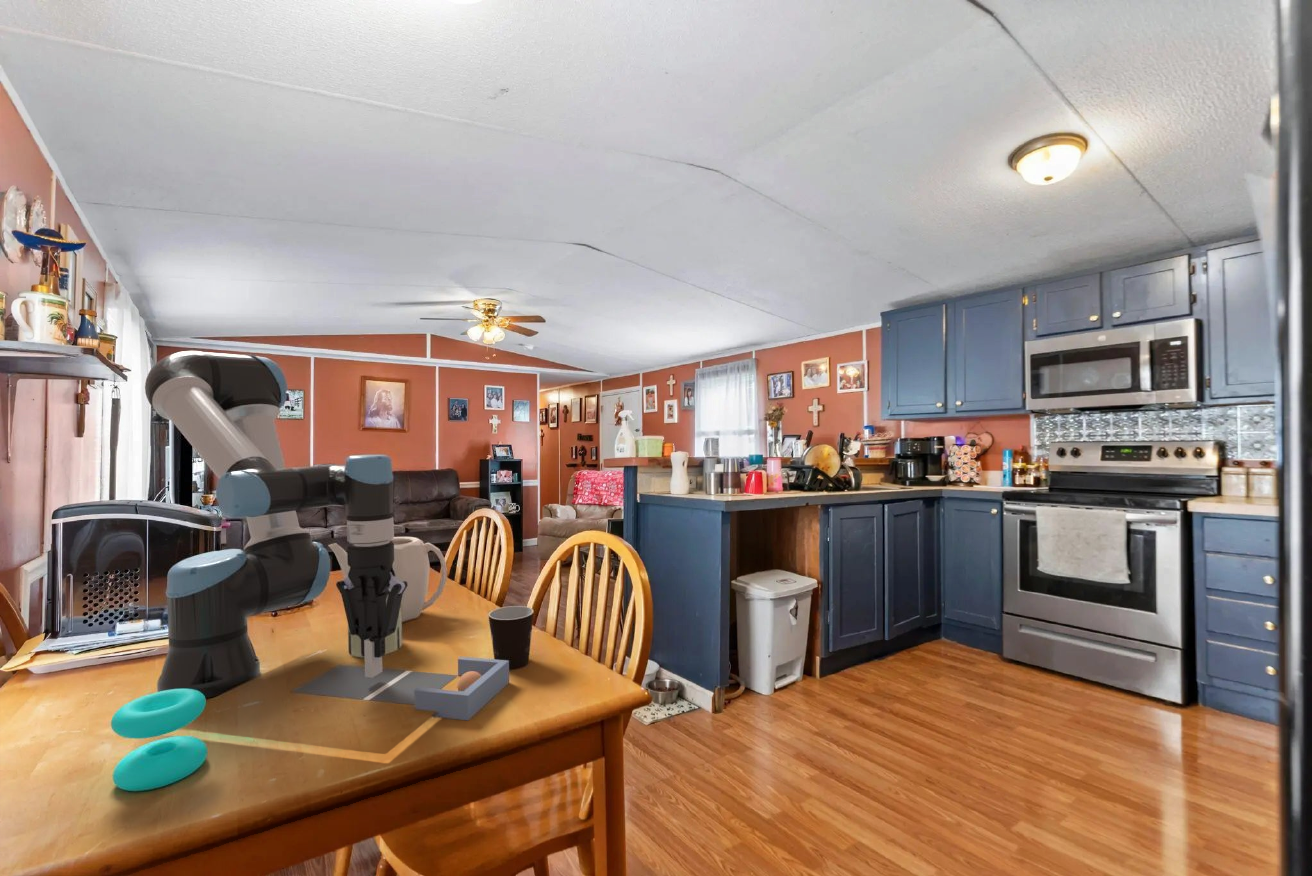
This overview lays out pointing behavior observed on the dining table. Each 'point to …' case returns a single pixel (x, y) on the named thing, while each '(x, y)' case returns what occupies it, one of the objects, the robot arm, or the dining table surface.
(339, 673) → the runway
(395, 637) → the coffee can
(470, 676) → the ball
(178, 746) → the donuts
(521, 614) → the coffee mug
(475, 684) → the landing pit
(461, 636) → the dining table surface
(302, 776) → the dining table surface
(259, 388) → the robot arm
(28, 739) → the dining table surface
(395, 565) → the white teapot
